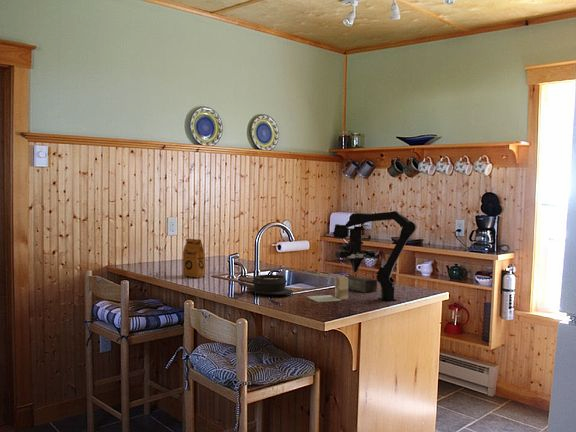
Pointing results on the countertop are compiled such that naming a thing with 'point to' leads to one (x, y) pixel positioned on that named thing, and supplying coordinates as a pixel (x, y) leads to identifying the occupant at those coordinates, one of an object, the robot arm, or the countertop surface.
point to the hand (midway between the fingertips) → (355, 272)
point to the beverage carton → (362, 284)
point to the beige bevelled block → (341, 287)
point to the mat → (323, 298)
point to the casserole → (269, 285)
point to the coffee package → (193, 258)
